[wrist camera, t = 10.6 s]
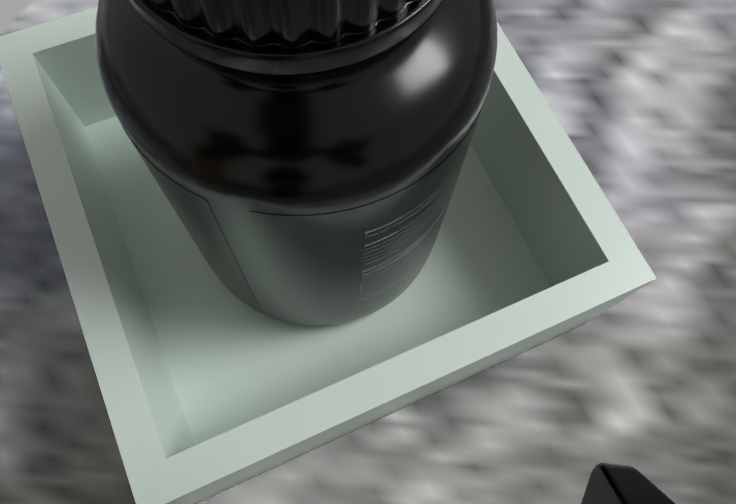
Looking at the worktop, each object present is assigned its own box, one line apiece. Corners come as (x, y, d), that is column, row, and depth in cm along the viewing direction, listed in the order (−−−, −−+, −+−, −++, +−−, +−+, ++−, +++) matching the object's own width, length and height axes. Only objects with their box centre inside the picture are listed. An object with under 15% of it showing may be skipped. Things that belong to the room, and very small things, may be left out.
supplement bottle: (403, 99, 20) (488, -397, 9) (461, 303, 18) (677, -7, 6) (184, 136, 19) (-35, -358, 8) (216, 356, 17) (-25, 102, 6)
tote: (584, 324, 19) (656, 278, 15) (190, 506, 17) (138, 515, 12) (408, 14, 22) (424, -95, 18) (64, 131, 20) (-8, 39, 16)
